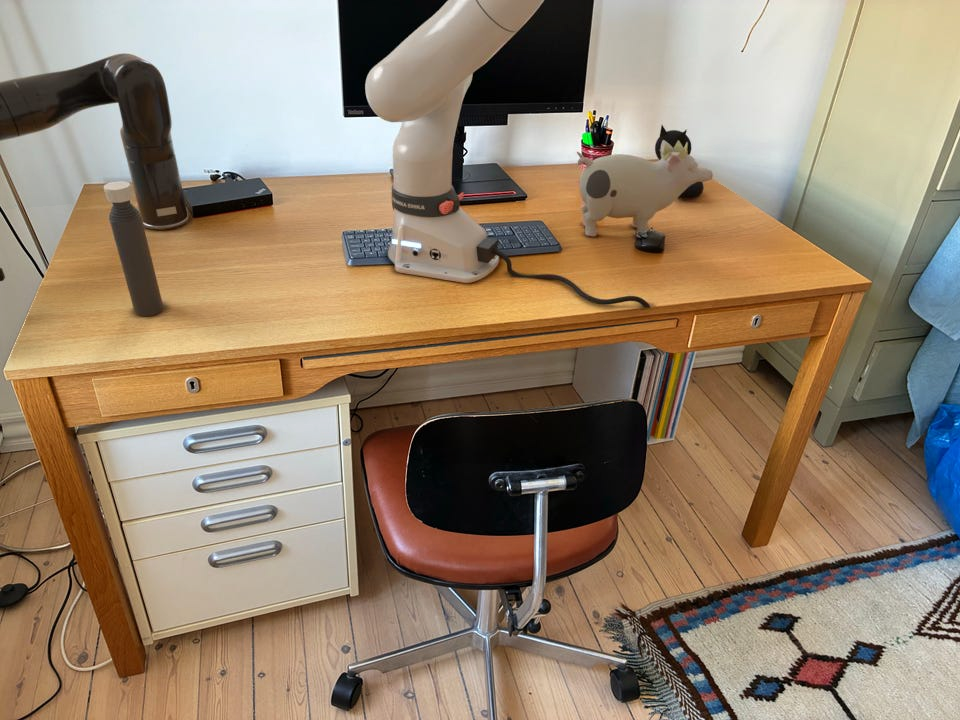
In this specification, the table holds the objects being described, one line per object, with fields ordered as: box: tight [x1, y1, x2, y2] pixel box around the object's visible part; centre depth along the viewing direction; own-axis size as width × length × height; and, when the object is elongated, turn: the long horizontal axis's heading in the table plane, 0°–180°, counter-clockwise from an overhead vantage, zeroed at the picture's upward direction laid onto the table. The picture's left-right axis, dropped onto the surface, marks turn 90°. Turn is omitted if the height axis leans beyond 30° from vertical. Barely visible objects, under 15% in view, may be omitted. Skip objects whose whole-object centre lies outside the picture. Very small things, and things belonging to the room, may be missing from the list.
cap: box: [103, 180, 134, 203], centre depth 111 cm, size 4×4×2 cm
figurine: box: [576, 140, 714, 239], centre depth 151 cm, size 10×29×20 cm, turn 89°
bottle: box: [108, 200, 165, 317], centre depth 116 cm, size 5×5×22 cm
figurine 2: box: [654, 124, 705, 200], centre depth 175 cm, size 16×14×15 cm
